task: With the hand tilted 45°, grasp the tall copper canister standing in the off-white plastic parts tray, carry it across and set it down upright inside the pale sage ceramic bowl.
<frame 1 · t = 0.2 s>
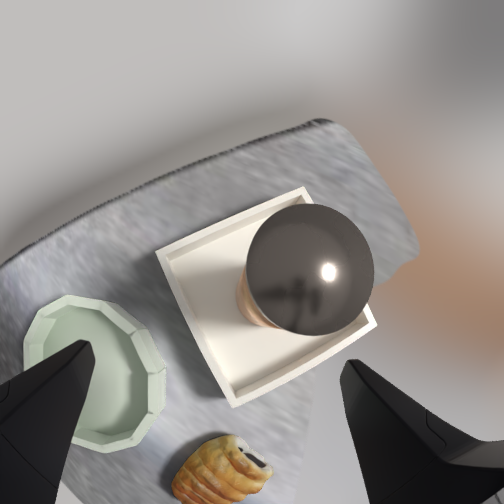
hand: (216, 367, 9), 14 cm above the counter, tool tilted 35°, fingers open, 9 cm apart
canister: (267, 295, 23), point 1 cm above the counter, touching parts tray
parts tray: (265, 295, 23), on the counter
bowl: (95, 373, 20), on the counter
pastry: (222, 468, 20), on the counter
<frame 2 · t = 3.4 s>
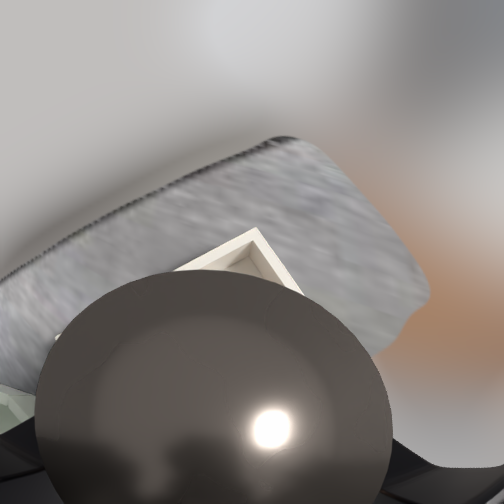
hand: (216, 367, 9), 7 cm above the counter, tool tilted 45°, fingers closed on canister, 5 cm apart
canister: (216, 392, 14), point 1 cm above the counter, touching gripper, parts tray
parts tray: (216, 391, 15), on the counter
bowl: (28, 470, 9), on the counter
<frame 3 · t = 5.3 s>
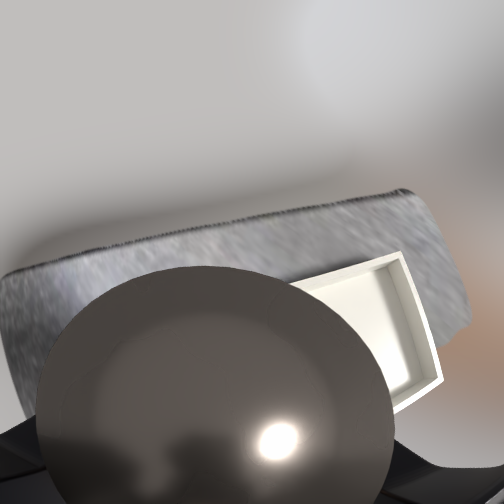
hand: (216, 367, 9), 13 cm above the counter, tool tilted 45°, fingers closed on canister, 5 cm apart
canister: (217, 391, 14), point 7 cm above the counter, touching gripper
parts tray: (354, 347, 22), on the counter
when the fingers open (8 cm above the counter, at t = 7.2 s): canister drops 1 cm, resting on bowl.
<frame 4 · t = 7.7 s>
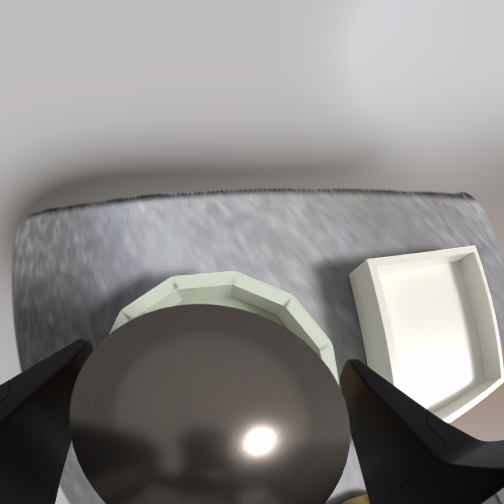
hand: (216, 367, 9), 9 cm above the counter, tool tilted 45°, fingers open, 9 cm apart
canister: (217, 391, 15), point 1 cm above the counter, touching bowl
parts tray: (430, 339, 18), on the counter
bowl: (217, 389, 16), on the counter
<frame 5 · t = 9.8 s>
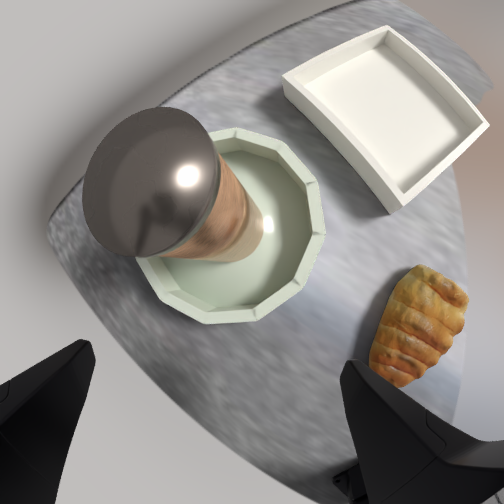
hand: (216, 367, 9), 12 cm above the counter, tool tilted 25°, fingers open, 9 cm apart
canister: (228, 227, 21), point 1 cm above the counter, touching bowl
parts tray: (390, 111, 19), on the counter
bowl: (230, 227, 21), on the counter
pastry: (414, 322, 19), on the counter
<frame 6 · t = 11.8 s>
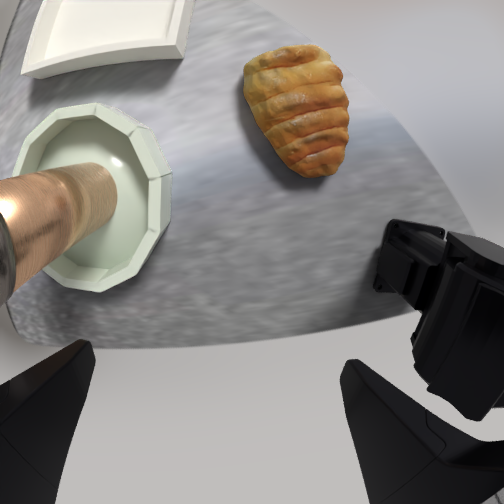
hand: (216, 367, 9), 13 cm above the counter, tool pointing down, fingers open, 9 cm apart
canister: (88, 196, 18), point 1 cm above the counter, touching bowl
bowl: (91, 194, 19), on the counter
pastry: (297, 104, 18), on the counter
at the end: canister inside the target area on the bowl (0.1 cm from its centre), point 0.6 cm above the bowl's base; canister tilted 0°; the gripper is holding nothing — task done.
